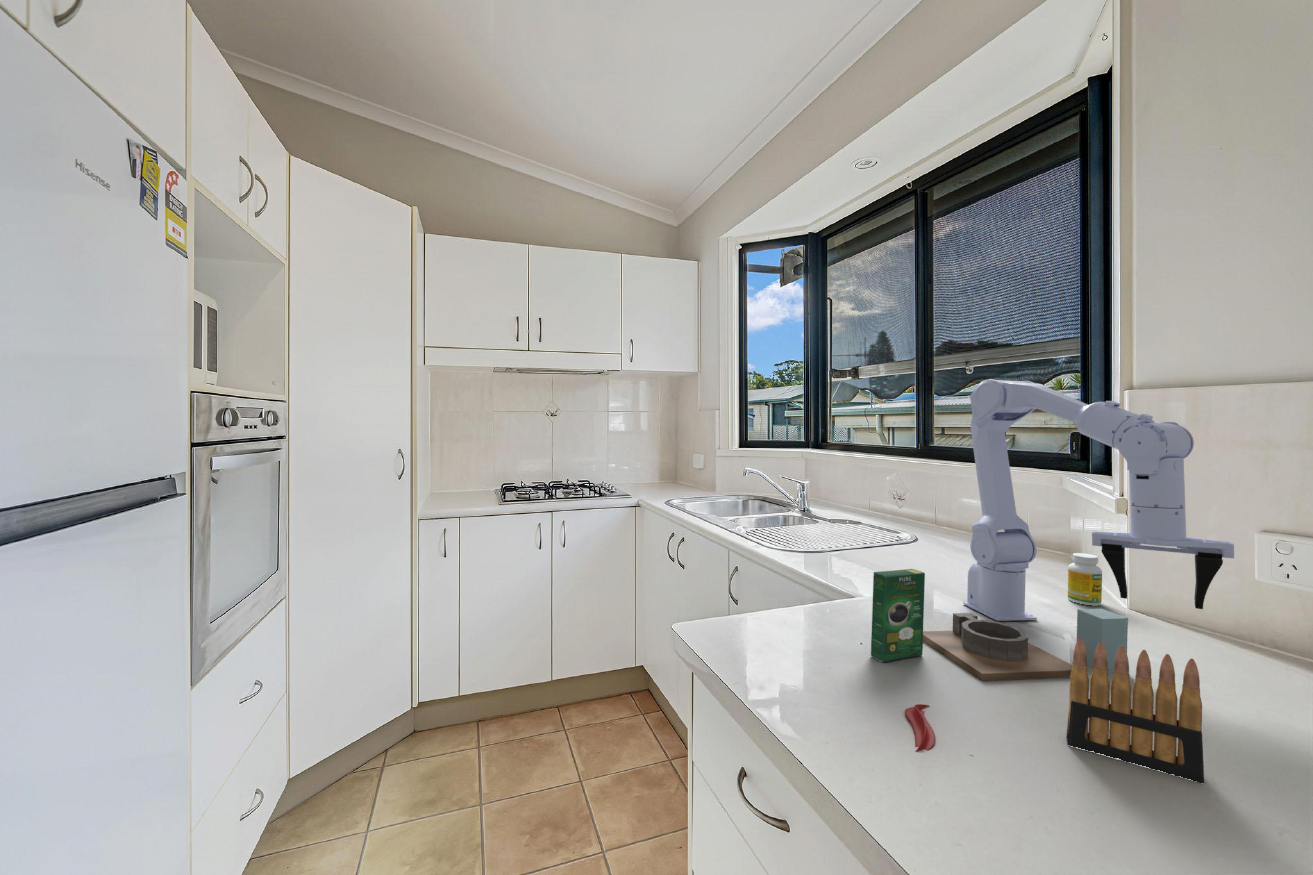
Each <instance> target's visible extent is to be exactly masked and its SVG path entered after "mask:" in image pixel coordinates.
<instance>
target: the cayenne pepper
mask: <svg viewBox="0 0 1313 875" xmlns="http://www.w3.org/2000/svg"><path fill="white" fill-rule="evenodd" d="M929 707H930V705H928V704H922V703H918V704H915V705H914V706H911V707H907V708H906V709H905V710H904V714H905V718H906V719H907V721H908V722H909V723H910V724H911V726H912V729H913V731H914V732H913V733H914V741H915V742H914V743H915V744H914V747H915V748H917V749H916V750H915V751H914V752H915V753H916V752H919V751H922V750H923V751H924V750H925V751H930V750H932V749H933V747H934V746H935V744H936V734H935V731H934V730H933V728H932V726H931V724H930V722H928V720H927V718H926V716H925V712H926V711H925V710H924V709H925V708H929Z"/></svg>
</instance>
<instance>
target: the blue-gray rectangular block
mask: <svg viewBox="0 0 1313 875" xmlns="http://www.w3.org/2000/svg"><path fill="white" fill-rule="evenodd" d="M1076 619H1077V620H1076V641H1077V640H1078V639H1079V638H1081V639H1082V640H1083V642H1084V645H1085V649H1086V655H1087V669H1089V670H1091V671H1092V670H1093V660H1094V654H1095V650H1096V647H1097V645H1098V643H1099V642H1102V643H1103V645H1104V647H1105V650H1106V654H1107V662H1108V675H1113V674H1114V664H1115V658H1116V654H1117V651H1118V649H1119V648H1120V646H1124V648H1125V650H1126V653H1127V654H1128V636H1129V635H1128V631H1129V630H1128V629H1129V626H1128V625H1129V618H1128V617H1126V616H1123V615H1120V614H1118V613H1115V612H1112V611H1110V610H1106V609H1104V608H1078V609H1077V616H1076Z"/></svg>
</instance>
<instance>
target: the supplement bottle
mask: <svg viewBox="0 0 1313 875" xmlns="http://www.w3.org/2000/svg"><path fill="white" fill-rule="evenodd" d="M1098 564H1099V556H1098V555H1095V554H1090V553H1083V552H1082V553H1081V552H1074V553H1072V563H1070V564H1069V565H1068V568H1067V570H1068V571H1067V600H1069V601H1070V600H1071V601H1074V602H1076V603H1075V604H1077V603H1080V604H1079V605H1081V604H1087V605H1092V606H1091V607H1099V606H1101V605H1102V595H1103V594H1102V592H1103V570H1102V568H1101V567H1100V566H1098ZM1071 601H1070V602H1071ZM1074 602H1073V603H1074ZM1098 605H1099V606H1098Z"/></svg>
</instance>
